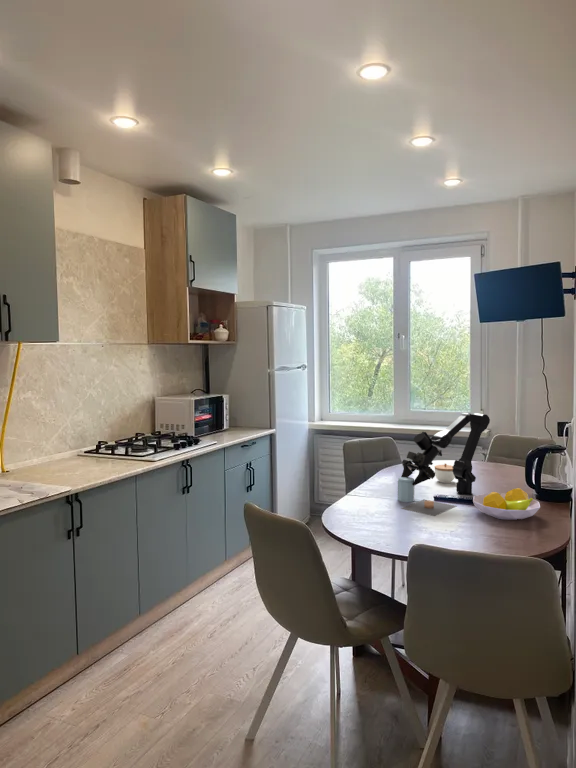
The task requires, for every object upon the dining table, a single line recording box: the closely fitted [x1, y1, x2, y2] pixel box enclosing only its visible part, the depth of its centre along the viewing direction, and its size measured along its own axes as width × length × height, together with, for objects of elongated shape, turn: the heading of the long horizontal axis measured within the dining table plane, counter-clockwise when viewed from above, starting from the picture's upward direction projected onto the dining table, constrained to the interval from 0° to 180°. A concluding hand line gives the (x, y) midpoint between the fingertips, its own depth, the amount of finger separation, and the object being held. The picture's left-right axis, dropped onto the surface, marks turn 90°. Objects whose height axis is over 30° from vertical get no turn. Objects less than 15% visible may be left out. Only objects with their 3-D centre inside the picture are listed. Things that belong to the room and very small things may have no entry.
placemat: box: [400, 499, 457, 517], centre depth 249 cm, size 20×16×1 cm
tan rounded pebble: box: [424, 499, 435, 509], centre depth 249 cm, size 4×4×2 cm
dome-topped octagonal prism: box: [397, 476, 415, 503], centre depth 261 cm, size 7×7×10 cm
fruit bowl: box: [472, 487, 541, 520], centre depth 238 cm, size 28×27×11 cm
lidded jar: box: [434, 463, 455, 484], centre depth 298 cm, size 11×11×9 cm
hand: (406, 482), depth 261 cm, fingers open, 9 cm apart
